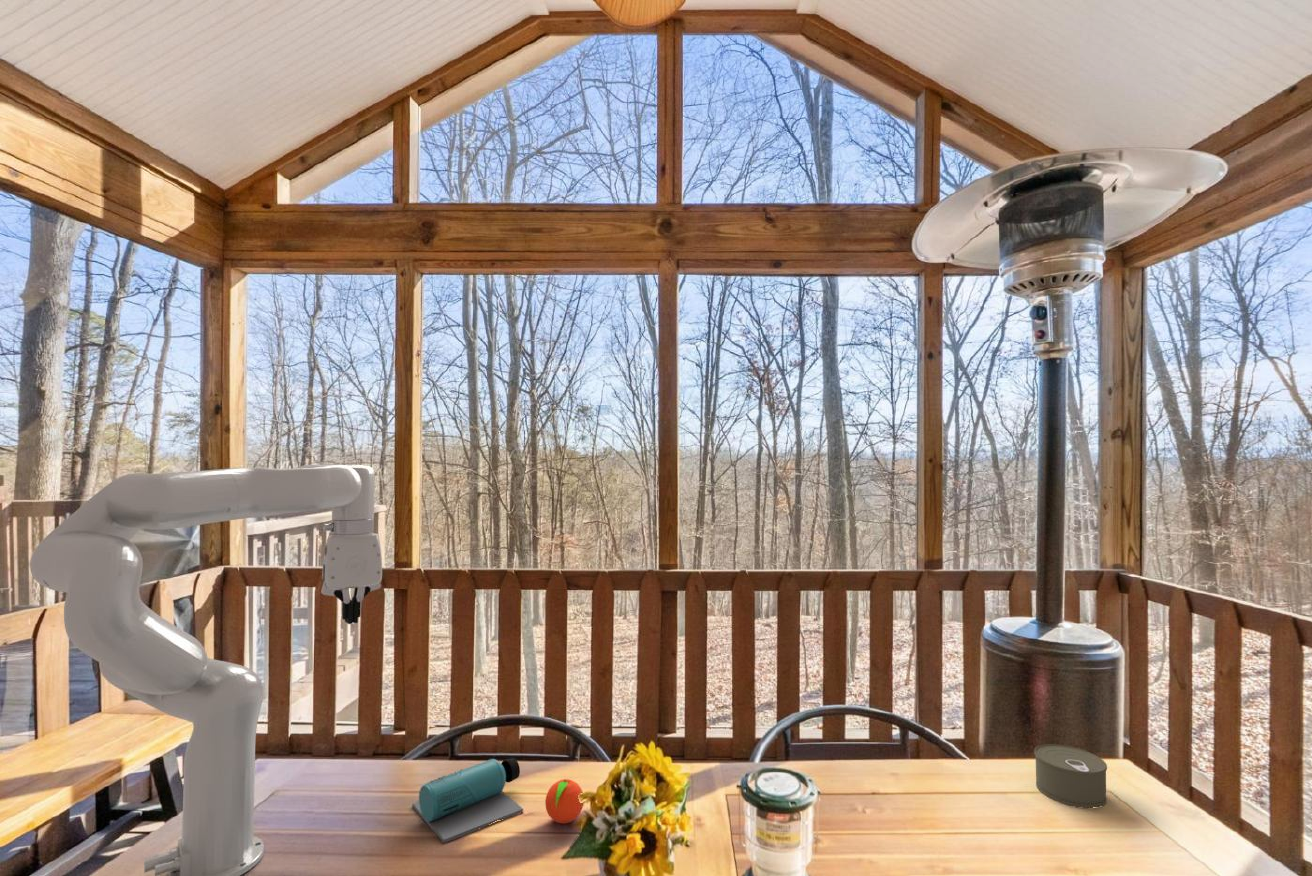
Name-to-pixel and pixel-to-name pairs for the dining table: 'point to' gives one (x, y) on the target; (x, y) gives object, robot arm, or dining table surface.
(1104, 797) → the can
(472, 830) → the mat
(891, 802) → the dining table surface
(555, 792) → the clementine
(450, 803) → the beverage bottle
